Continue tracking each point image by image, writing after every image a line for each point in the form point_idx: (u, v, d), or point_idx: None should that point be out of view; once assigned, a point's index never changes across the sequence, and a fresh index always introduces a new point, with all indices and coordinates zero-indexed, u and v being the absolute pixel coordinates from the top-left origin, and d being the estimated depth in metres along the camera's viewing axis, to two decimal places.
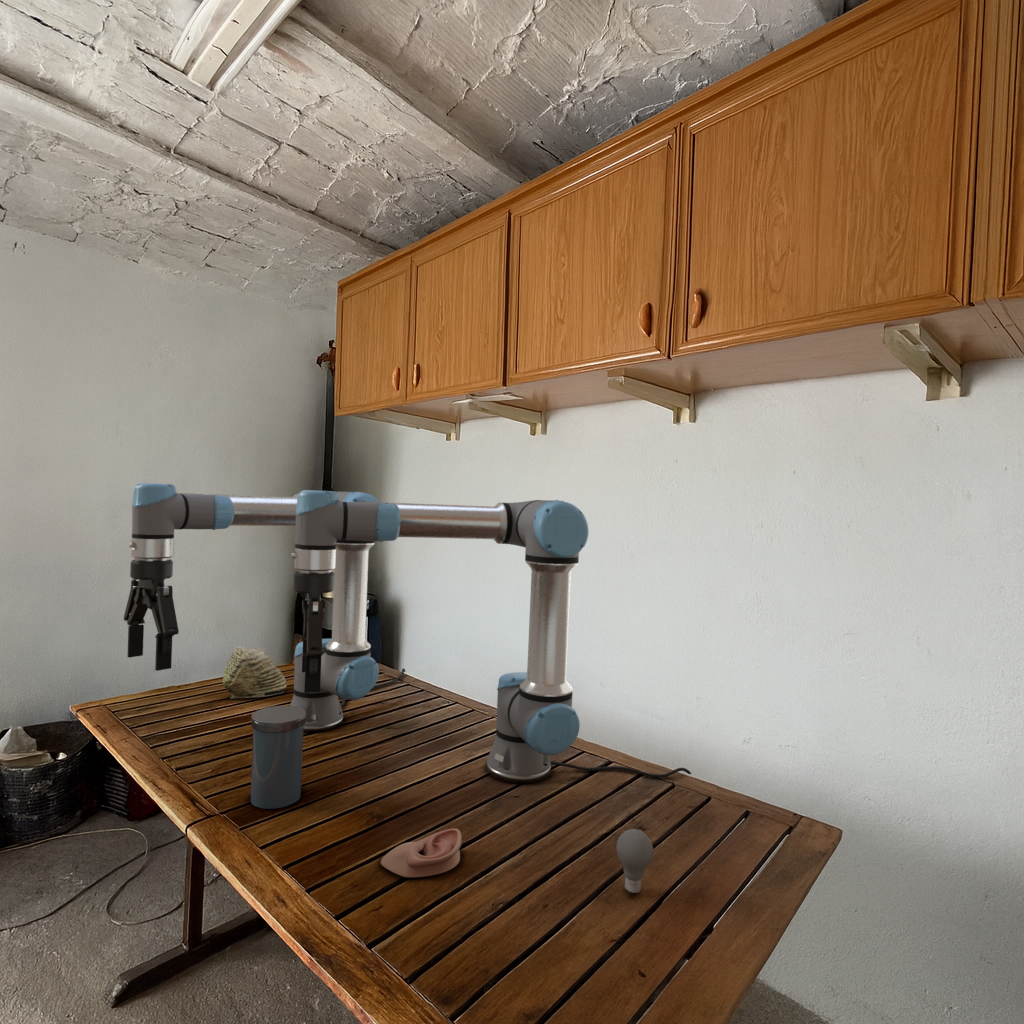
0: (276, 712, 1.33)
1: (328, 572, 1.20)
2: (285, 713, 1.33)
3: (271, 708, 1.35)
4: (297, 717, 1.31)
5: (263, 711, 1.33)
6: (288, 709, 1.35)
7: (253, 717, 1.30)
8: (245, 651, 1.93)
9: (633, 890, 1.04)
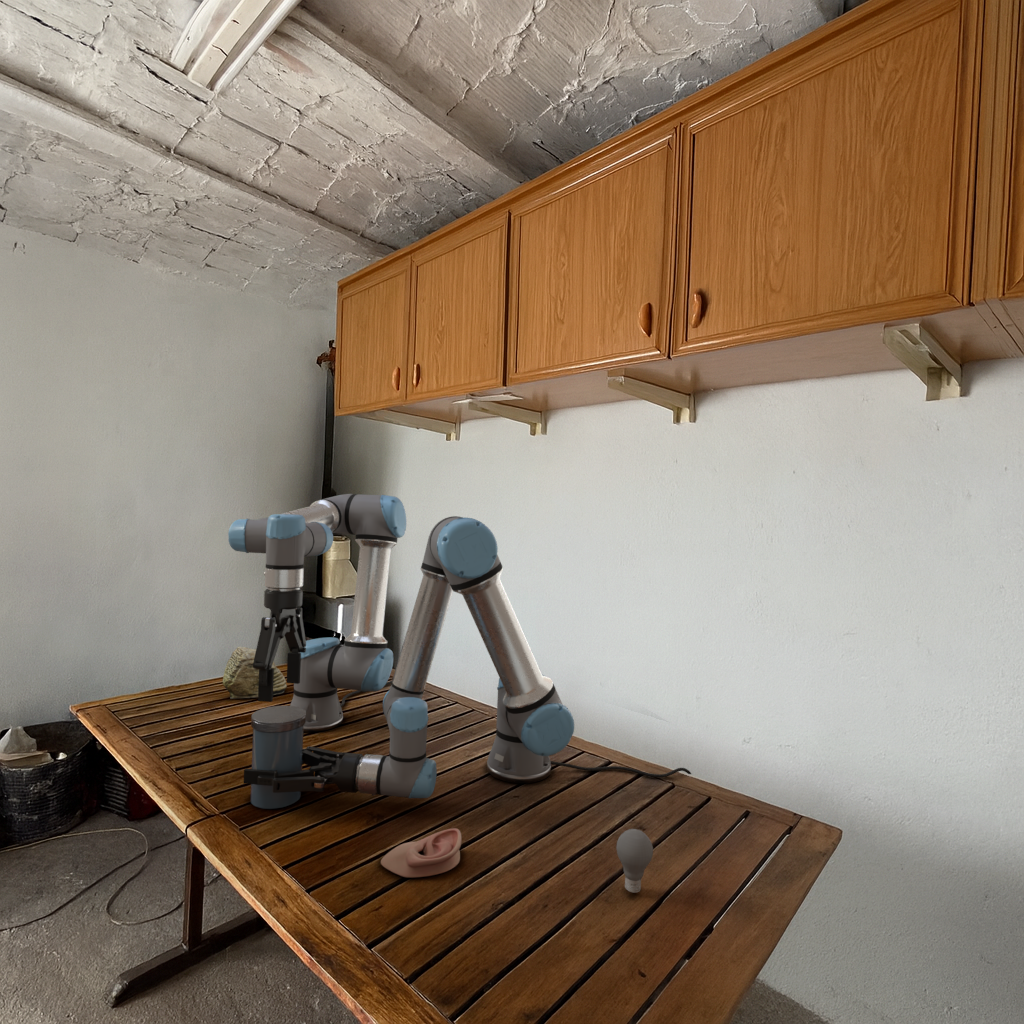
0: (276, 712, 1.33)
1: None
2: (285, 713, 1.33)
3: (271, 708, 1.35)
4: (297, 717, 1.31)
5: (263, 711, 1.33)
6: (288, 709, 1.35)
7: (253, 717, 1.30)
8: (245, 651, 1.93)
9: (633, 890, 1.04)
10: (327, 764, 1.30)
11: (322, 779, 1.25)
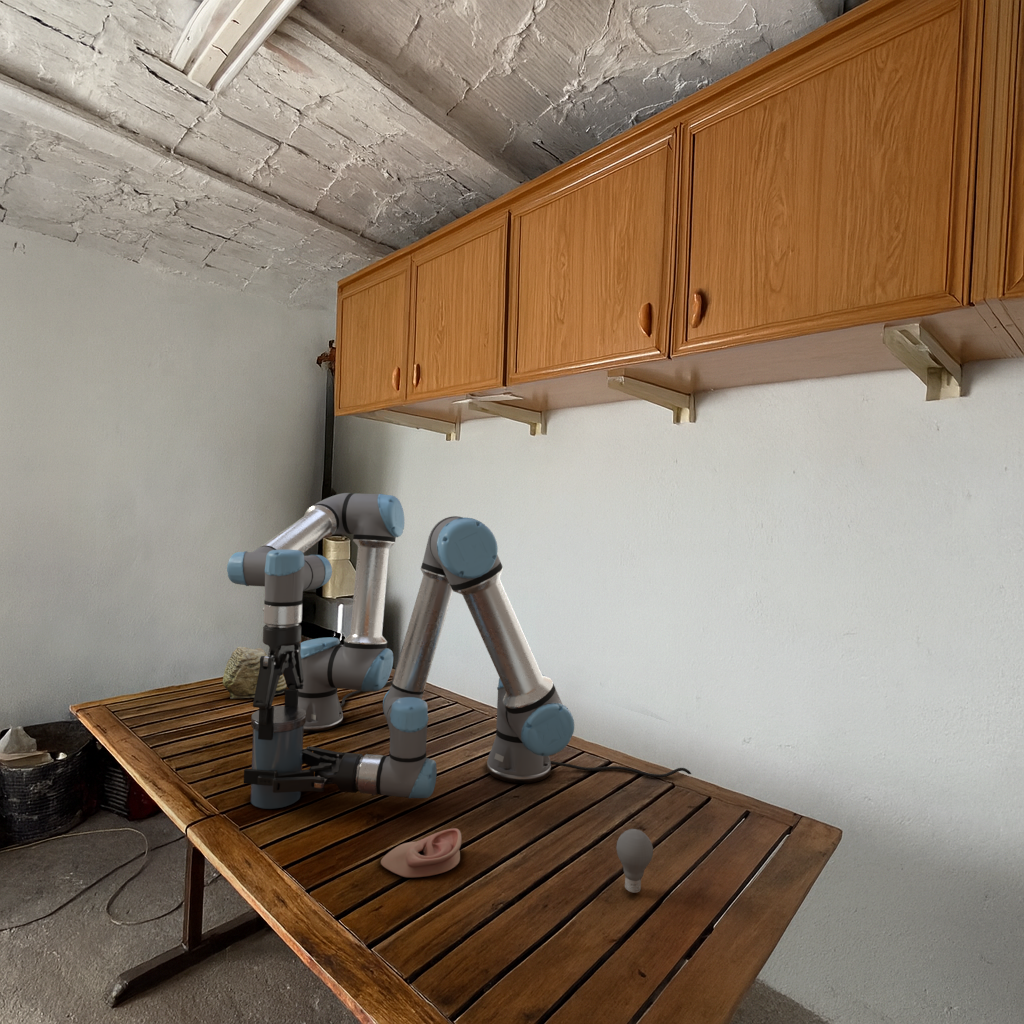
0: (276, 712, 1.33)
1: None
2: (285, 713, 1.33)
3: None
4: (297, 717, 1.31)
5: None
6: (288, 709, 1.35)
7: (253, 717, 1.30)
8: (245, 651, 1.93)
9: (633, 890, 1.04)
10: (327, 764, 1.30)
11: (322, 779, 1.25)
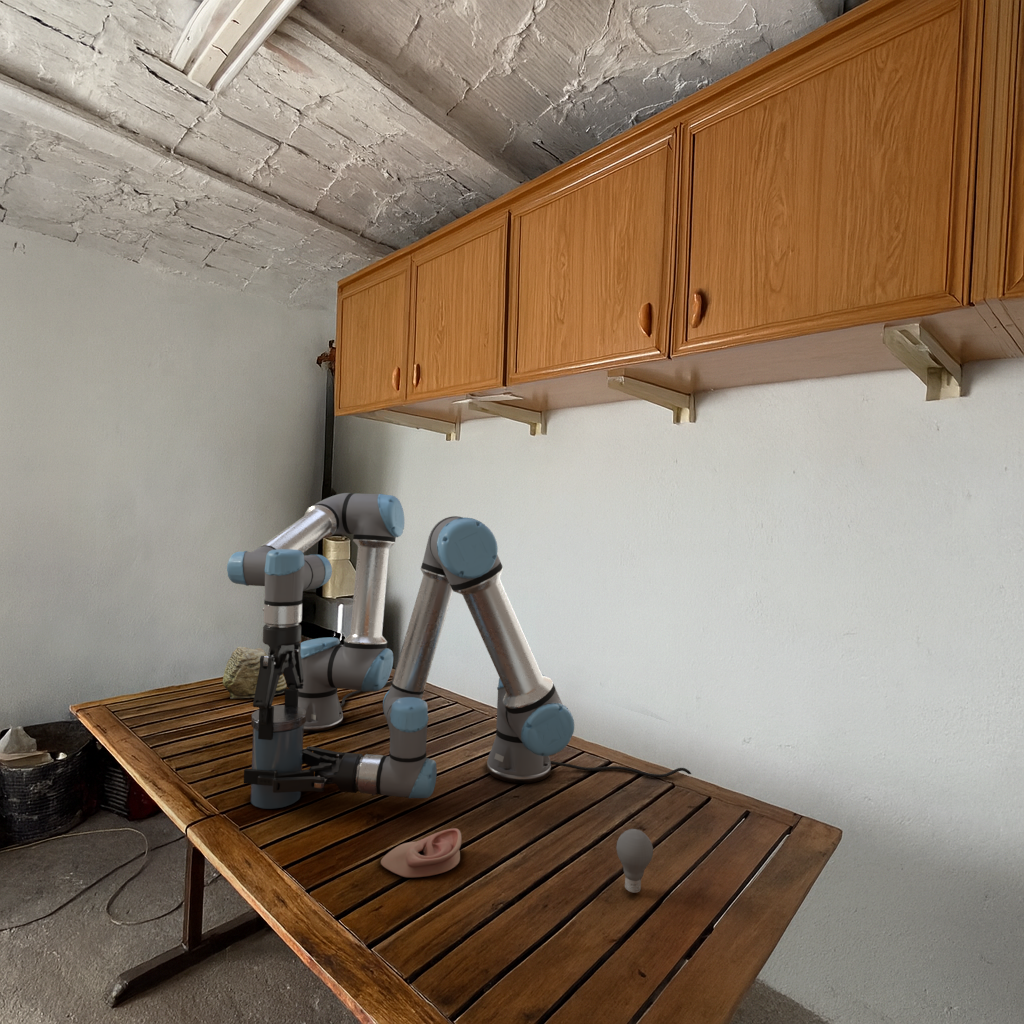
0: None
1: None
2: (282, 711, 1.34)
3: (258, 713, 1.32)
4: (301, 709, 1.35)
5: None
6: (274, 709, 1.35)
7: None
8: (245, 651, 1.93)
9: (633, 890, 1.04)
10: (327, 764, 1.30)
11: (322, 779, 1.25)
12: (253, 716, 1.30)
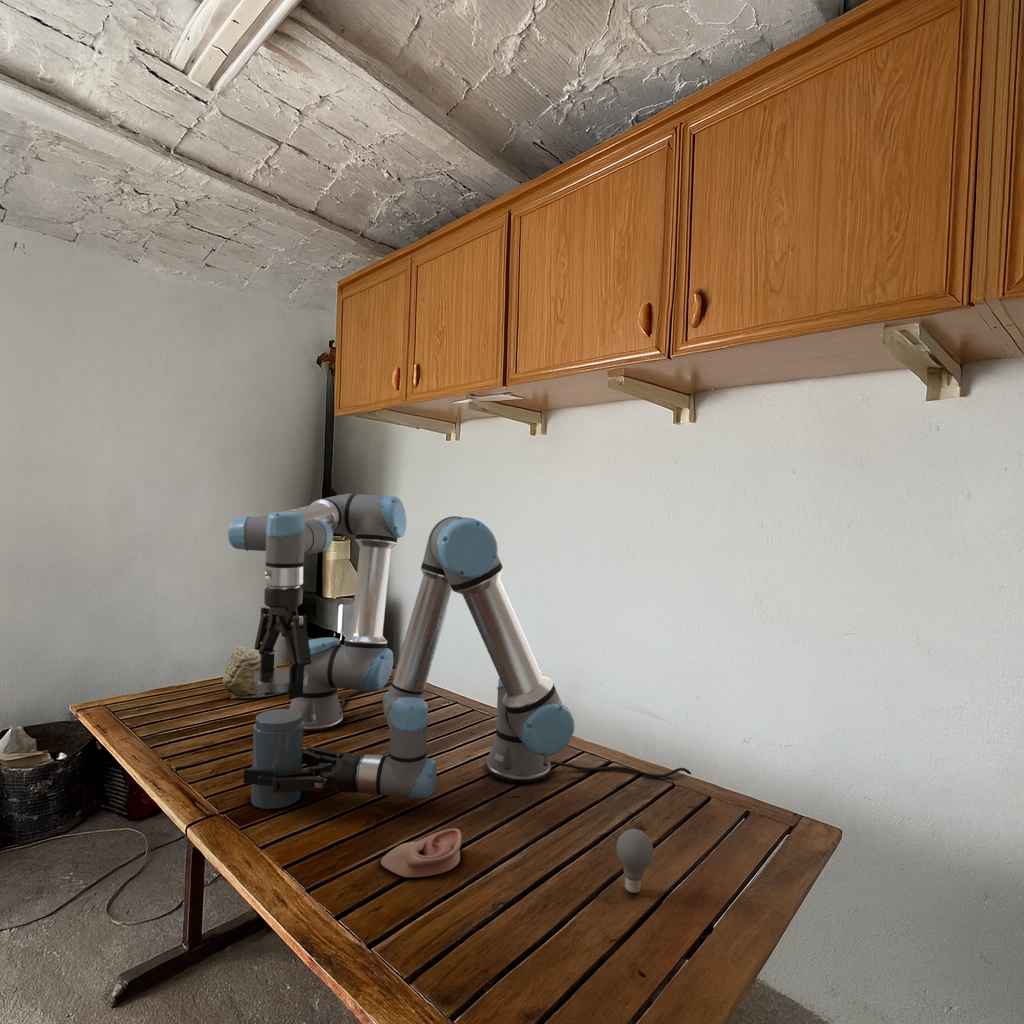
0: (277, 677, 1.31)
1: None
2: (278, 674, 1.33)
3: (265, 680, 1.29)
4: (288, 669, 1.37)
5: (275, 681, 1.29)
6: (266, 675, 1.32)
7: None
8: (245, 651, 1.93)
9: (633, 890, 1.04)
10: (327, 764, 1.30)
11: (322, 779, 1.25)
12: (270, 683, 1.27)
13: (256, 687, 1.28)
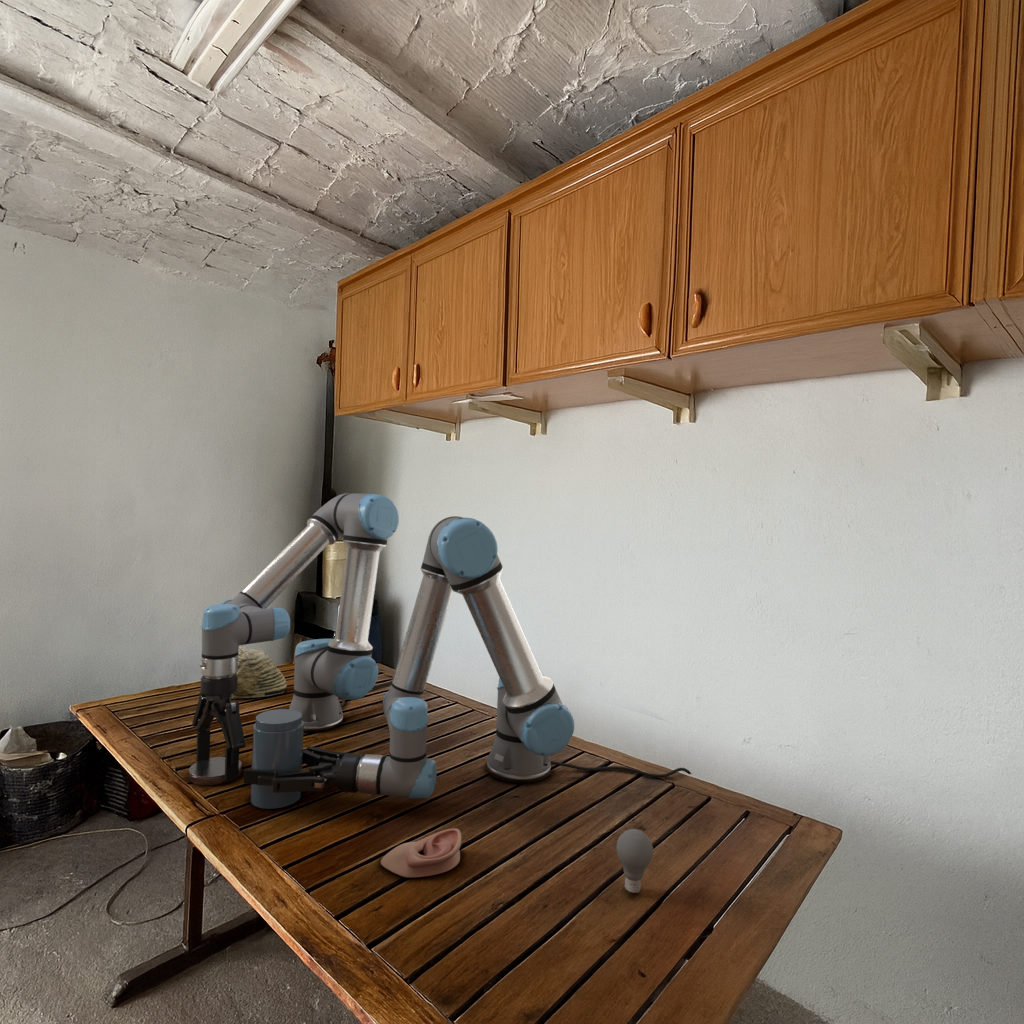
0: (211, 768, 1.41)
1: None
2: (213, 764, 1.43)
3: (198, 773, 1.38)
4: (224, 757, 1.46)
5: (208, 773, 1.38)
6: (201, 766, 1.42)
7: None
8: (245, 651, 1.93)
9: (633, 890, 1.04)
10: (327, 764, 1.30)
11: (322, 779, 1.25)
12: (202, 776, 1.37)
13: (190, 779, 1.38)
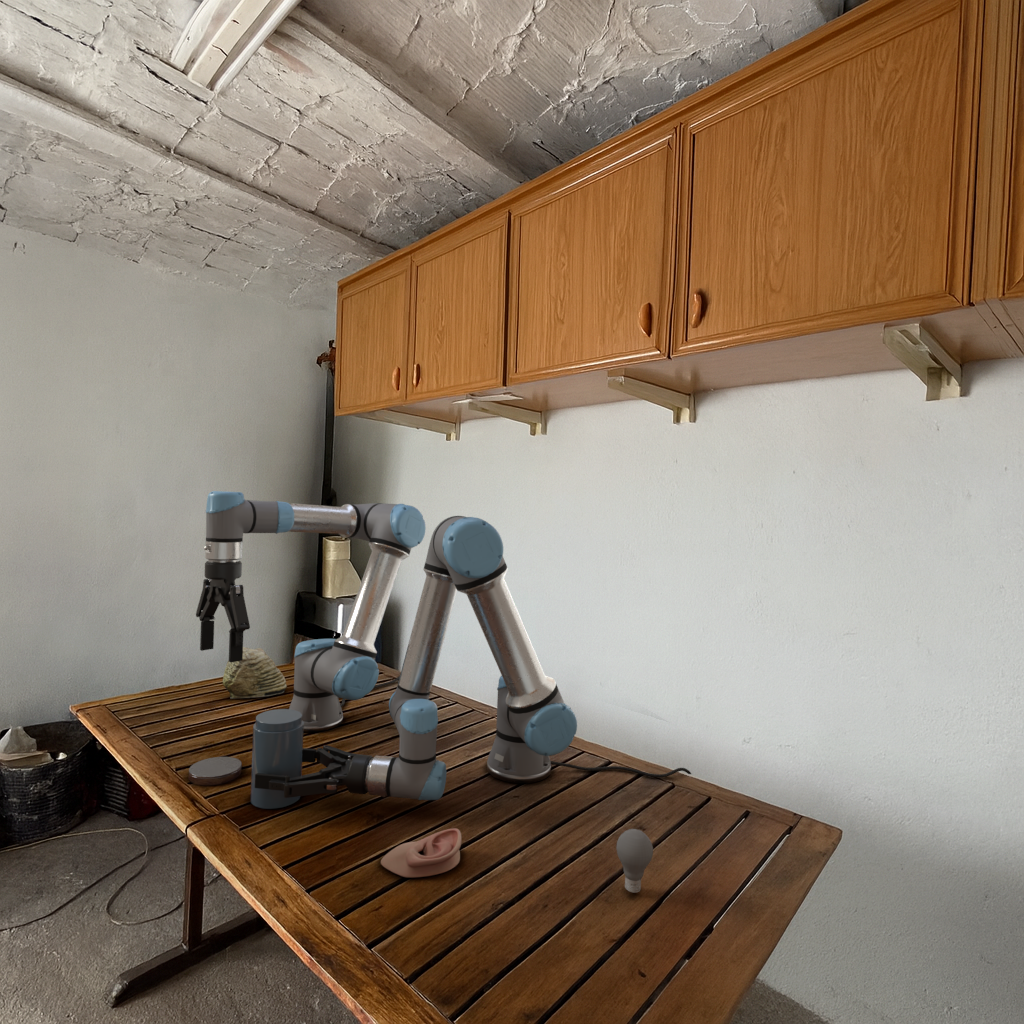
0: (211, 768, 1.41)
1: None
2: (213, 764, 1.43)
3: (198, 773, 1.38)
4: (224, 757, 1.46)
5: (208, 773, 1.38)
6: (201, 766, 1.42)
7: (227, 773, 1.39)
8: (245, 651, 1.93)
9: (633, 890, 1.04)
10: (337, 765, 1.30)
11: (335, 780, 1.25)
12: (202, 776, 1.37)
13: (190, 779, 1.38)
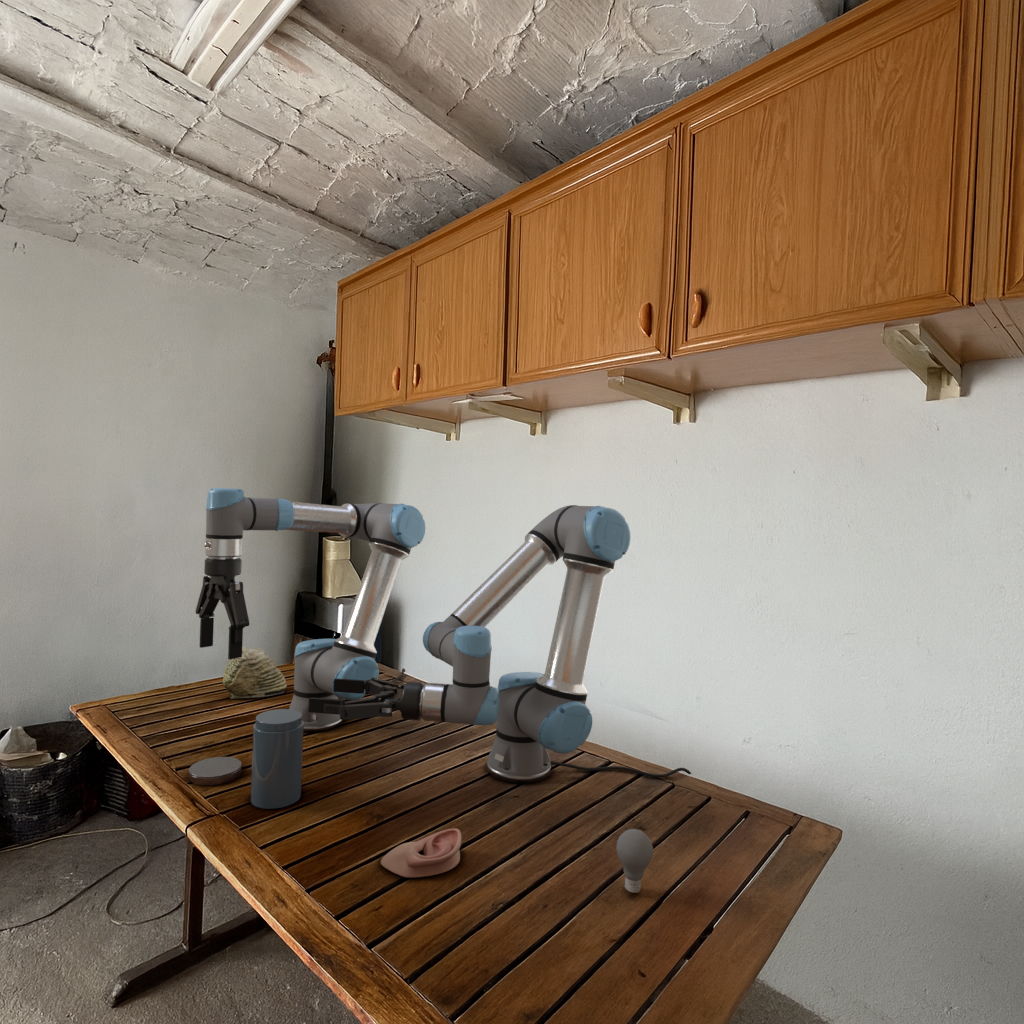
0: (211, 768, 1.41)
1: None
2: (213, 764, 1.43)
3: (198, 773, 1.38)
4: (224, 757, 1.46)
5: (208, 773, 1.38)
6: (201, 766, 1.42)
7: (227, 773, 1.39)
8: (245, 651, 1.93)
9: (633, 890, 1.04)
10: (390, 692, 1.29)
11: (390, 704, 1.24)
12: (202, 776, 1.37)
13: (190, 779, 1.38)
